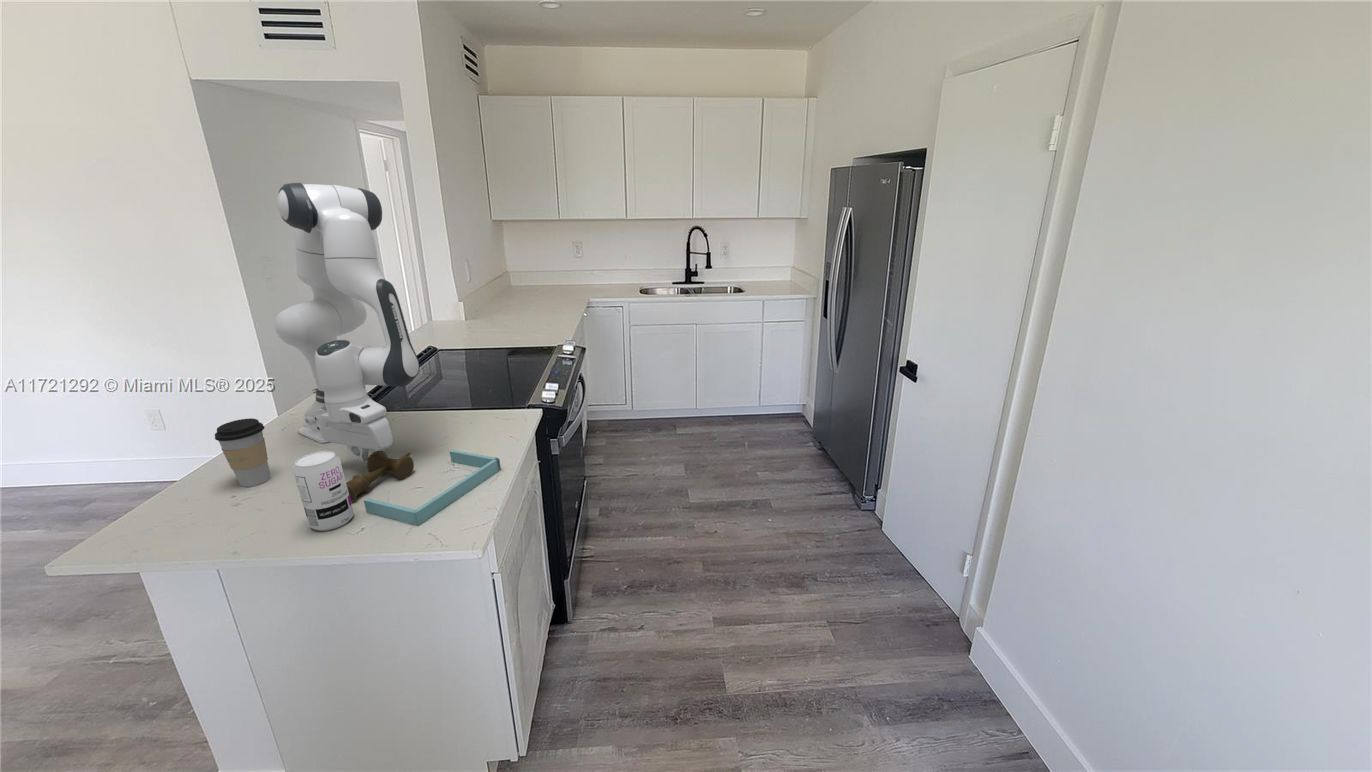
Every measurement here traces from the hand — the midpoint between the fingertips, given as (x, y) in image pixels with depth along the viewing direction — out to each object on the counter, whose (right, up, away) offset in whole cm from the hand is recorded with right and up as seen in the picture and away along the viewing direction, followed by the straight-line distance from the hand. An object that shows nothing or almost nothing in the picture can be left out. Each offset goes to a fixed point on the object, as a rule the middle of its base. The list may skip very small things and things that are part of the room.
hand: (362, 460), depth 137 cm
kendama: (+7, -5, -3) cm, 9 cm away
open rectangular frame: (+22, -6, -7) cm, 24 cm away
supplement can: (+5, -11, -19) cm, 23 cm away
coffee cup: (-25, -5, -1) cm, 26 cm away
